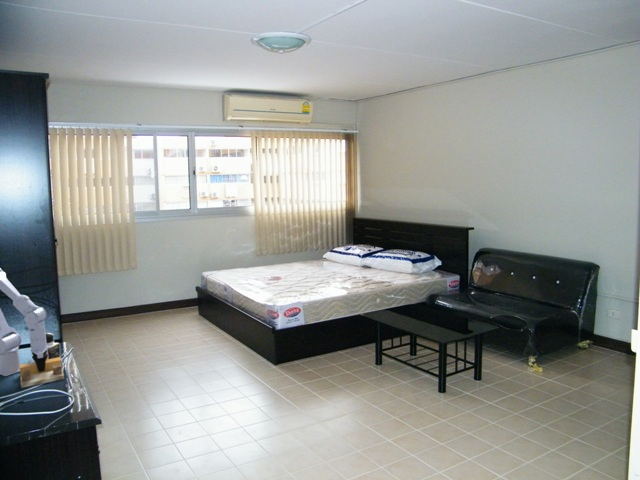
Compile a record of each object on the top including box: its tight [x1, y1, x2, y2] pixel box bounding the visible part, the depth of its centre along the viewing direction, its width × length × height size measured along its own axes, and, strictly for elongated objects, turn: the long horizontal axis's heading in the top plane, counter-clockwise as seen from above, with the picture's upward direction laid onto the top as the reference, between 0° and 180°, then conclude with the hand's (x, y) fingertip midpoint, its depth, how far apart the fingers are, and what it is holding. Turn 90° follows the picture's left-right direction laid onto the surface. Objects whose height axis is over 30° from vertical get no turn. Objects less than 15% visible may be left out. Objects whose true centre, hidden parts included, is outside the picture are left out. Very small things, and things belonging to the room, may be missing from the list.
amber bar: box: [19, 356, 63, 378], centre depth 214 cm, size 15×4×4 cm, turn 121°
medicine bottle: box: [45, 332, 61, 360], centre depth 227 cm, size 7×7×12 cm
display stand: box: [20, 364, 65, 389], centre depth 207 cm, size 15×8×4 cm, turn 120°
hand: (41, 369), depth 214 cm, fingers closed on amber bar, 4 cm apart
